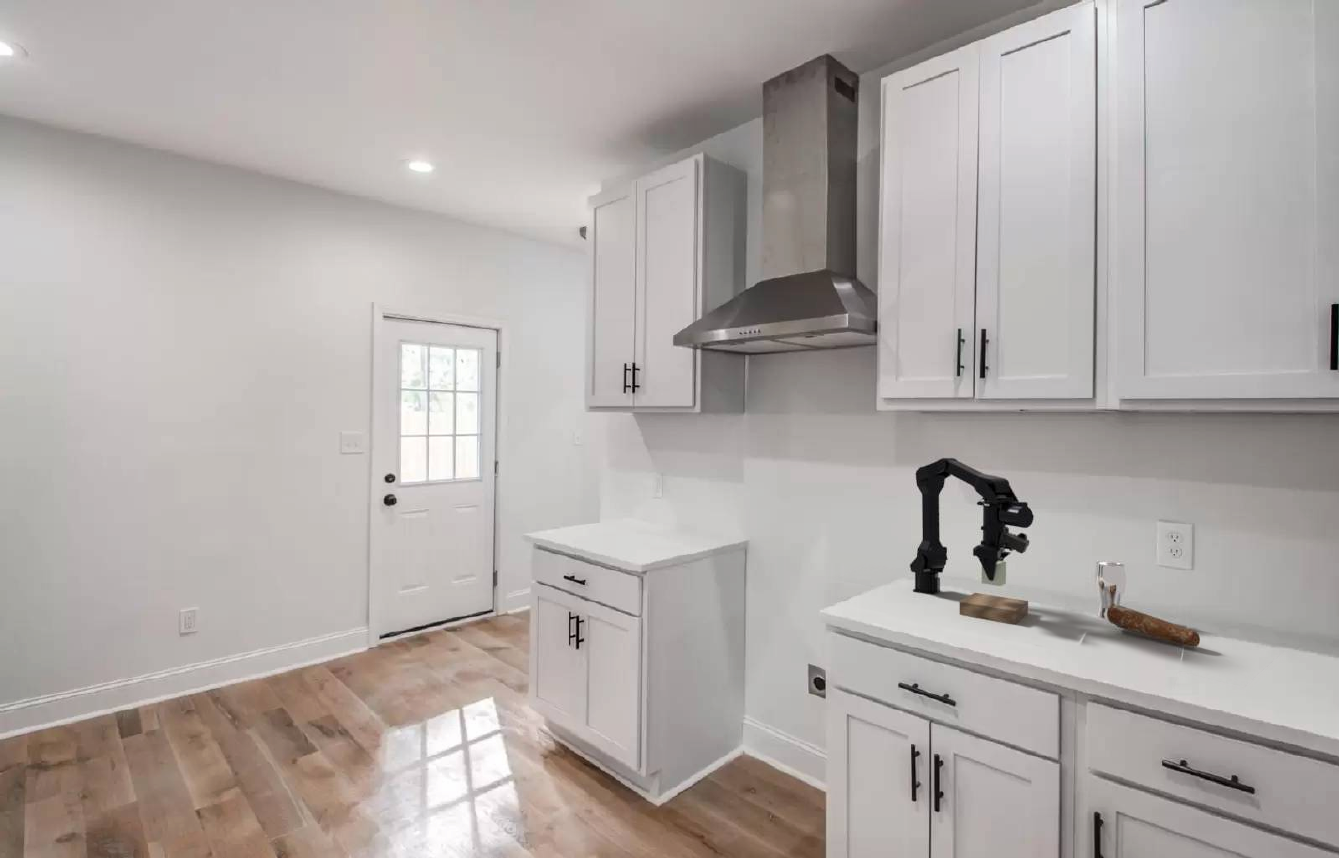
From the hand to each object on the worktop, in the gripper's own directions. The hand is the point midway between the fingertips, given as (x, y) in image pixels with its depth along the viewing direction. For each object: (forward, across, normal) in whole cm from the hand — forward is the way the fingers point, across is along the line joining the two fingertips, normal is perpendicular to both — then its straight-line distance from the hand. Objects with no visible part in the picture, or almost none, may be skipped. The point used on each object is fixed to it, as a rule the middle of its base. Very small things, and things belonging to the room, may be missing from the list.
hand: (993, 578), depth 181 cm
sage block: (+1, 0, 0) cm, 1 cm away
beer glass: (+10, +17, -25) cm, 32 cm away
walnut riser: (+10, 0, 0) cm, 10 cm away
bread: (+11, +3, -33) cm, 35 cm away
